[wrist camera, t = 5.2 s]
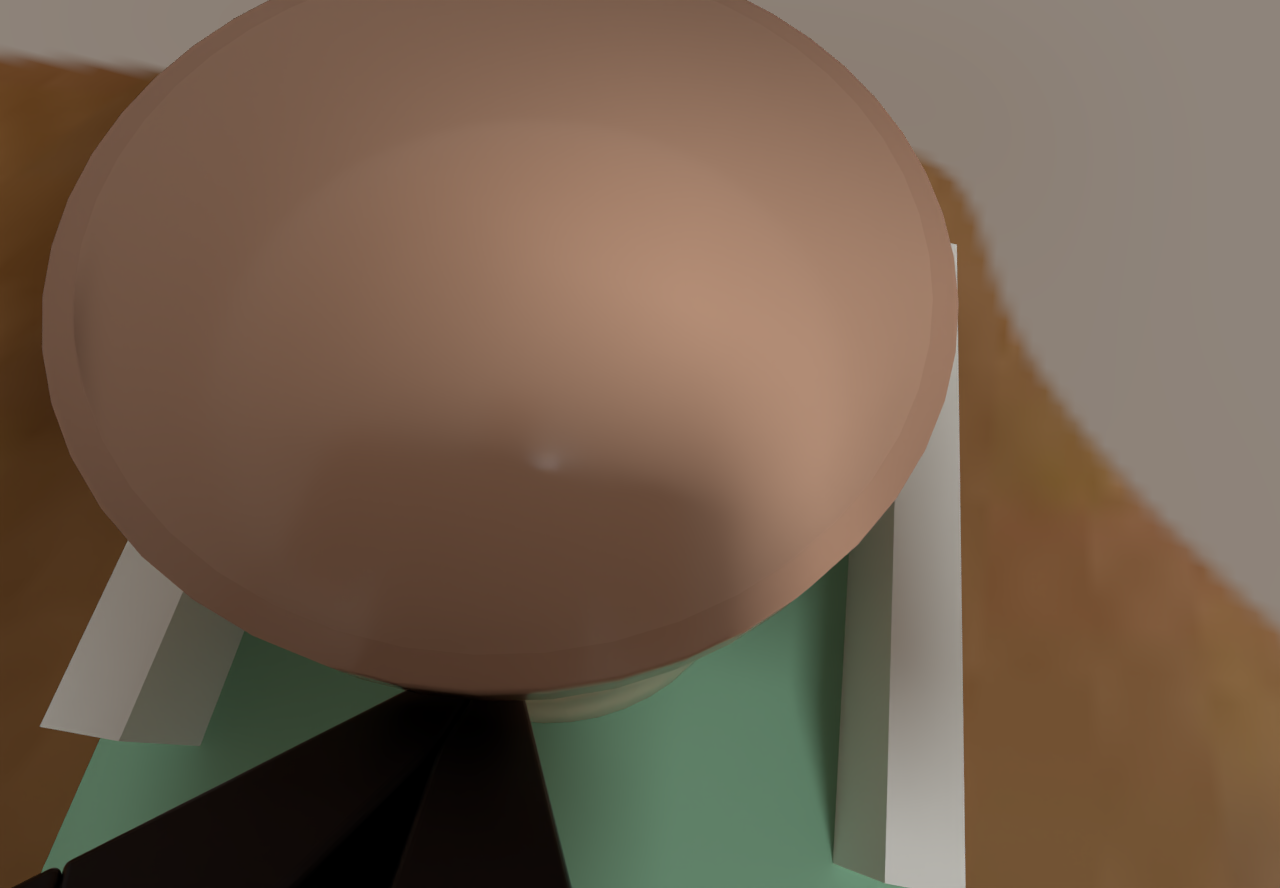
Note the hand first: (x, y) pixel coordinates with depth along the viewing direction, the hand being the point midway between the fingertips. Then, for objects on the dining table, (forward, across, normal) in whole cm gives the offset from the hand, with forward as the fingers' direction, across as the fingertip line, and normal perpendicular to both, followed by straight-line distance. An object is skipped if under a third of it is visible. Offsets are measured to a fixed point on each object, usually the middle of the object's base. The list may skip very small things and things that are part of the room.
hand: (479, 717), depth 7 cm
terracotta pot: (+8, 0, -2) cm, 8 cm away
